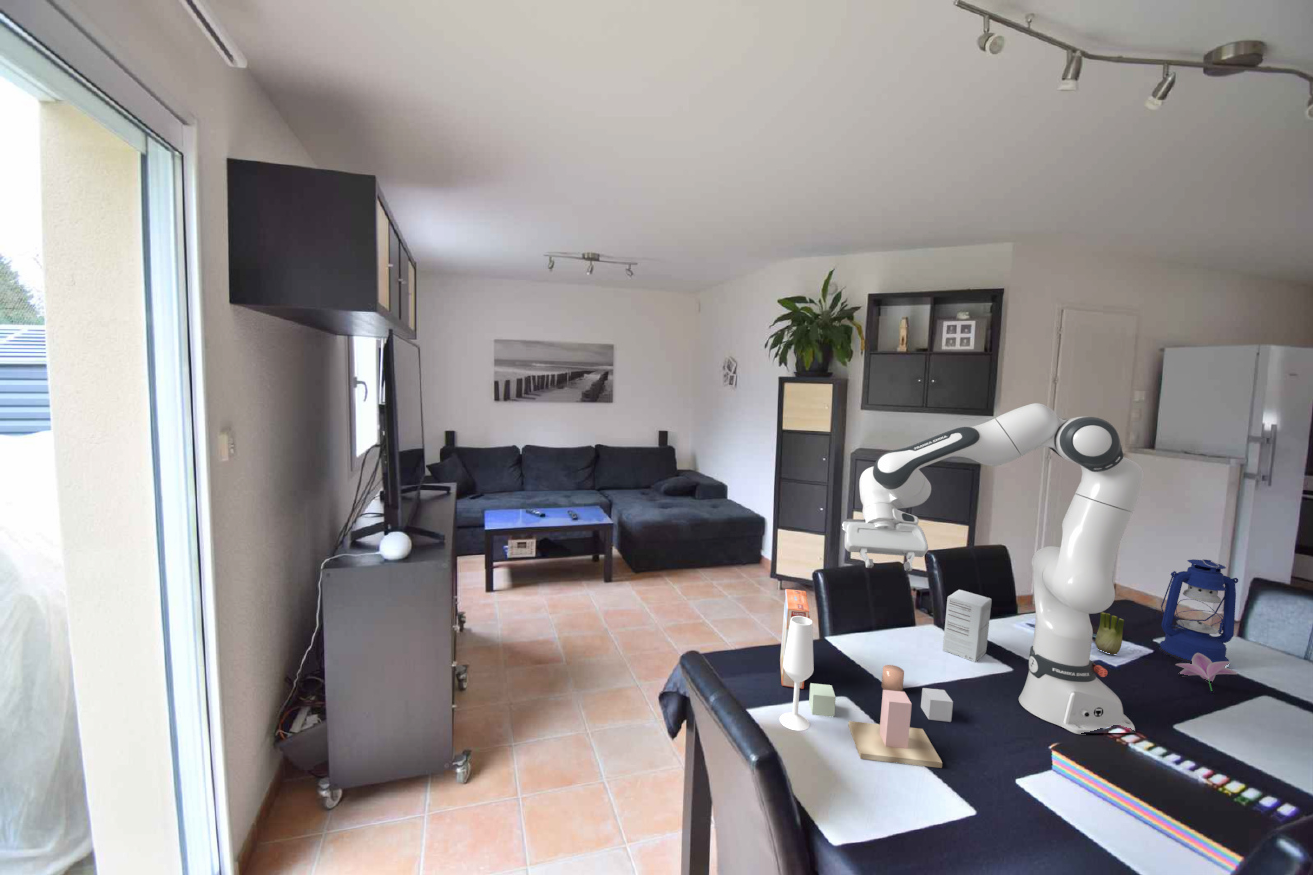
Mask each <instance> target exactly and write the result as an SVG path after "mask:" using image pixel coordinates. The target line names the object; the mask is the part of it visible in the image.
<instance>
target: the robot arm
mask: <svg viewBox="0 0 1313 875" xmlns="http://www.w3.org/2000/svg"><path fill="white" fill-rule="evenodd" d="M1043 448H1049V449H1050V450H1051V451H1053V452H1054V454H1056V455H1057V456H1058V457H1060V458H1062V459H1064V460H1066V461H1068V462H1069V463H1073V464H1077V465H1079V467H1080V468H1081V479H1080V482H1079V484H1078V486H1077V488H1076V490H1075V493H1074V495H1073V497H1072V499H1071V502H1070V504H1069V506H1068V509H1067V511H1066V513H1065V515H1064V518H1063V519H1062V522H1061V529H1062V535H1061V536H1062V537H1061V543H1060V546H1054V545H1049V546H1047V545H1046V546H1043V547H1042V548H1039V549H1038V550H1037V551H1036V552H1034V554H1033V556H1032V557H1031V570H1032V574H1033V592H1034V594H1033V596H1034V606H1035V607H1034V608H1035V623H1034V632H1033V642H1032V645H1031V646H1030V649H1029V656H1028V674H1027V677H1026V681H1025V684H1024V687H1023V689H1022V691H1021V693H1020V695H1019V697H1018V701H1019V704H1020V705H1021V706H1022V707H1023V708H1024V709H1025V710H1026V711H1028V712H1029V713H1030V714H1032V715H1034V716H1036V717H1037V718H1040V719H1041V720H1043V721H1046V722H1048V723H1051V724H1054V725H1057V726H1059V727H1062V728H1064V729H1065V730H1067V731H1069V732H1071V733H1073V734H1076V735H1082V734H1081V733H1084V732H1090V731H1094V730H1097V729H1100V728H1106V727H1110V726H1113V725H1121V726H1124V727H1127V728H1131V729H1132V730H1134V731H1135V732H1136V728H1135V725H1134V723H1133V721H1131V719H1129V717H1127V715H1125V714H1124V707H1123V704H1122V701H1121V699H1120V698H1119V696H1118V695H1117V694H1116V693H1115V692H1114V691H1113V690H1112V689H1111V688H1109V686H1107V685H1106V684H1105V683H1104V682H1102V681H1101V680H1100V679H1099V678H1098V677H1097V676H1096V674H1097V675H1098V676H1099V677H1101V678H1105V677H1106V676H1107V675H1108V670H1107V669H1106V668H1105V667H1103V666H1102V665H1099V664H1097V665H1096V663H1095V662H1094V661H1093V660H1091V651H1092V644H1093V635H1094V630H1093V626H1092V623H1091V618H1090V614H1098V613H1101V612H1105V611H1106V610H1107V609H1109V608H1110V607H1111V606H1112V604H1113V603H1114V601H1115V597H1116V590H1115V587H1114V575H1115V568H1116V562H1117V556H1118V551H1119V546H1120V543H1121V540H1122V538H1123V536H1124V533H1125V531H1126V529H1127V527H1128V524H1129V522H1130V520H1131V519H1132V515H1133V514H1134V512H1135V510H1136V509H1135V508H1136V507H1137V504H1138V501H1139V499H1140V496H1141V492H1142V488H1143V485H1144V484H1143V483H1144V479H1145V472H1144V470H1143V467H1142V466H1141V465H1140V464H1138V463H1137V462H1136V461H1134V460H1132V459H1130V458H1129V457H1128V458H1127V457H1125V456H1124V451H1123V448H1122V443H1121V437H1120V435H1119V433H1118V430H1117V429H1116V427H1114V425H1113V424H1111V423H1110V422H1109V421H1107V420H1104V419H1103V418H1099V417H1096V416H1095V417H1094V416H1077V417H1076V416H1075V417H1073V418H1061V417H1059V416H1058V415H1057V413H1056V412H1055V411H1054V410H1053V409H1052V408H1051V407H1049V406H1048V405H1045V404H1043V403H1039V402H1034V403H1030V404H1027V405H1024V406H1020V407H1018V408H1014V409H1012V410H1009V411H1007V412H1005V413H1002V414H1001V415H998V416H997V417H995V418H993V419H990V420H988V421H986V422H983V423H981V424H977V425H972V426H961V427H957V428H954V429H950V430H948V431H945V432H943V433H940V434H937V435H935V436H932V437H930V438H927V439H924V440H923V441H922V440H921V441H919V442H917V443H914V444H912V445H909V446H907V447H903V448H899V449H893V450H889V451H887V452H884V453H883V454H881V455H880V456H879V457H877V459H876V461H875V463H874V465H873V466H871V467H870V466H869V467H868V468H866V469H865V470H864V471H862V473H861V474H860V478H859V480H858V481H859V482H858V484H859V486H858V487H859V496H860V497H859V499H860V502H861V505H862V519H860V518H856V519H855V518H847V519H845V520H844V521H842V523H841V526H842V528H841V529H842V531H843V533H844V549H845V550H846V551H847V552H848V553H859V556H860V557H861V559H862V560H863V562H864V563H865V569H866V568H868V569H873V567H874V558H870V557H869V556H868V555H867V554H871V555H872V554H873V555H875V554H876V555H889V556H899V557H900V556H902V557H906V560H908V561H905V562H904V563H903V569H904V571H907V572H911V571H912V570H913V561H914V558H915V557H916V558H923V557H924V556H925V555H926V554H927V552H928V551H929V546H928V541H927V538H926V534H925V532H924V530H923V528H922V527H921V526H919V522H920V521H919V518H918V516H917V515H914V514H910V513H907V512H904V511H901V510H902V509H903V510H905V509H910V508H914V507H919V506H921V505H923V504H924V503H926V502H927V501H928V500H929V499H930V497H931V494H932V489H933V488H932V484H931V482H930V481H929V480H928V478H927V477H926V475H925V474H924V473H923V472H922V471H921V470H920V469H922V468H924V467H927V466H929V465H932V464H935V463H937V462H940V461H942V460H946V459H947V458H952V457H962V458H967V459H970V460H973V461H974V462H975V461H976V462H977V463H979V464H982V465H986V466H992V467H997V466H1002V465H1004V464H1008V463H1011V462H1013V461H1015V460H1018V459H1019V458H1021V457H1024V456H1025V455H1028V454H1029V453H1032V452H1034V451H1036V450H1039V449H1043Z"/></svg>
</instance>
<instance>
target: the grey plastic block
mask: <svg viewBox="0 0 1313 875" xmlns="http://www.w3.org/2000/svg"><path fill="white" fill-rule="evenodd" d="M920 700H921V701H920V708H921V710H922V712H923V713H924V714H925V716H926V717H927V719H928V720H929V721H940V722H949V723H951V722H952V718H953V707H954V706H953V705H954V701H953V700H952V698H951V697H950V696H949V694H948V693H947V691H946V690H945V689H938V688H927V687H922V690H921V699H920Z"/></svg>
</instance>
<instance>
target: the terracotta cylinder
mask: <svg viewBox="0 0 1313 875" xmlns="http://www.w3.org/2000/svg"><path fill="white" fill-rule="evenodd" d="M904 678H905V670H904V669H903V668H901V667H900V666H897V665H893V664H884V665H883V666H882V676H881V688H882V690H891V691H901V692H904V680H905V679H904Z"/></svg>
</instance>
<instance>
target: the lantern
mask: <svg viewBox="0 0 1313 875" xmlns="http://www.w3.org/2000/svg"><path fill="white" fill-rule="evenodd" d="M1187 562H1189V564H1191V566H1189V567H1187V570H1186V571H1185V570H1183V571H1179V572H1177V571H1176V570H1173V571H1172V572H1171V573H1170V576H1171V577H1170V580H1169V583H1168V586H1167V589H1166V592H1165V595H1164V596H1163V600H1162V603H1161V605H1160V607H1161V612H1162V616H1163V617H1162V621H1161V624H1160V626H1161V629H1162V631H1163V632H1164V633H1165V636H1164V640H1161V641H1160V642H1159V646H1161V648H1162V649H1163V650H1165V651H1166V652H1168V653H1170V654H1172V655H1176V656H1178V657H1181V658H1183V659H1187V660H1190V661H1192V658H1193V656H1194V655H1195V654H1196V653H1201V654H1203V655H1204V656H1206V657H1207V658H1209V659H1210V660H1211V661H1212V663H1214V662H1222V661H1229V662H1230V663H1231V661H1230V659H1229V658H1228V657H1226V656H1227V655H1226V654H1227V647H1226V646H1227V645H1226V643H1228V642H1230V641H1231V640H1232V639H1233V637H1234V635H1235V633H1234V632H1235V620H1236V619H1235V618H1236V616H1235V615H1236V602H1237V601H1236V599H1237V598H1236V597H1237V590H1236V584H1238V583H1239V579H1238V578H1237V577H1233V578H1231V577H1229V576H1227V575H1224V574H1223V573H1222V570H1225V569H1227V567H1226V566H1225V565H1222V564H1220V563H1217V562H1215V561H1213V560H1210V559H1202V560H1201V559H1188V560H1187ZM1183 583H1184V584H1186V585H1187V589H1184V590H1183V592H1182V595H1183V596H1184V597H1186V598H1183V599H1180V600H1179V598H1180V594H1181V589H1182V587H1183ZM1219 592H1224V594H1223V597H1222V599H1221V597H1220V596H1218V595H1219ZM1167 594H1168V595H1167ZM1166 598H1167V599H1166ZM1188 599H1190V600H1193V601H1197V602H1200V603H1202V604H1204V605H1206V606H1207V607H1209V609H1211V610H1212V611H1210V610H1208V612H1210V613H1213V614H1211V615H1210V616H1208V617H1207V618H1205V619H1190V620H1187V619H1180V617H1179V615H1178V614H1180V613H1183V612H1187V610H1184V611H1179V612H1178V610H1177V607H1178V605H1179V604H1180V602H1182V601H1185V600H1188ZM1165 600H1166V603H1165ZM1204 602H1205V603H1204ZM1164 603H1165V608H1164ZM1206 603H1210V604H1218V606H1217V608H1216V610H1214V609H1213V608H1212V607H1211V606H1209V605H1208V604H1206ZM1222 604H1223V614H1221V613H1219V612H1218V611H1219V609H1220V607H1221V605H1222ZM1163 608H1164V609H1163ZM1192 611H1194V612H1195V611H1196V612H1197V611H1199V612H1201V611H1202V612H1206V610H1205V609H1203V610H1202V609H1192V610H1191V609H1190V610H1189V612H1192ZM1215 615H1217V616H1218V617H1219V619H1220V621H1218V622H1215V623H1213V624H1211V625H1209V624H1206V623H1203V622H1206V621H1208V620H1210V619H1211V618H1212V617H1213V616H1215ZM1174 619H1175V620H1176V625H1174V624H1173V621H1174ZM1216 624H1219V629H1217V628H1215V627H1213V626H1214V625H1216ZM1173 627H1175V628H1173ZM1217 634H1219V635H1218V636H1214V635H1217Z"/></svg>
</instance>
